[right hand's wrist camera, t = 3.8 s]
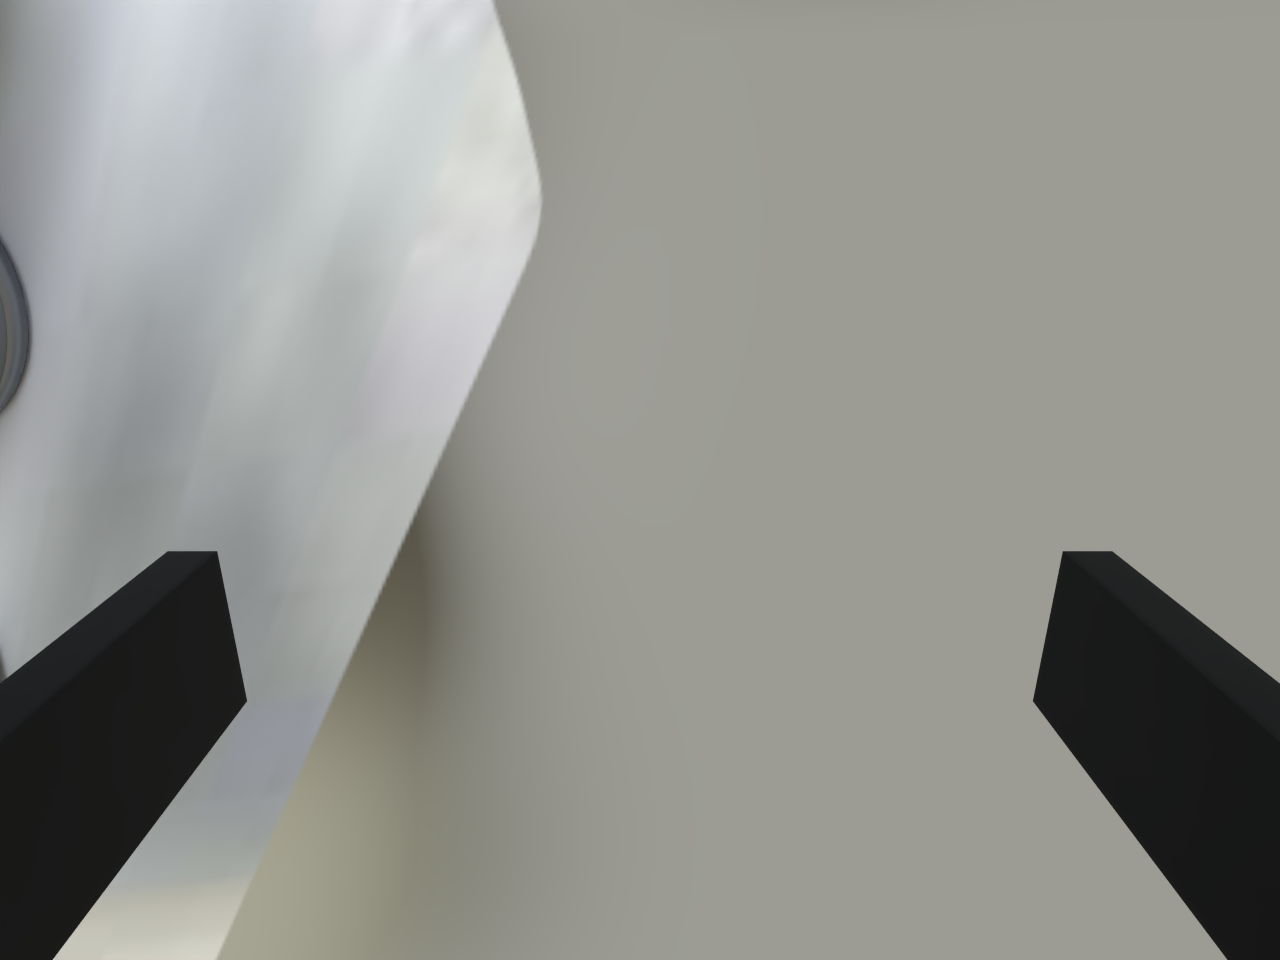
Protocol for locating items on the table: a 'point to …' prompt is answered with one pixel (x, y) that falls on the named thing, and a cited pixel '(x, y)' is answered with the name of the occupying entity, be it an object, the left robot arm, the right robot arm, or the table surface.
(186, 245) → the table surface
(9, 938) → the right robot arm
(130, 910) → the table surface
